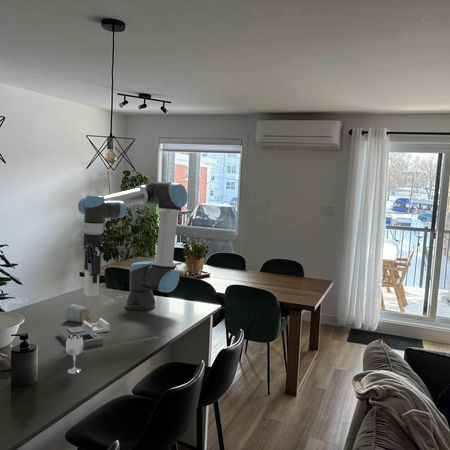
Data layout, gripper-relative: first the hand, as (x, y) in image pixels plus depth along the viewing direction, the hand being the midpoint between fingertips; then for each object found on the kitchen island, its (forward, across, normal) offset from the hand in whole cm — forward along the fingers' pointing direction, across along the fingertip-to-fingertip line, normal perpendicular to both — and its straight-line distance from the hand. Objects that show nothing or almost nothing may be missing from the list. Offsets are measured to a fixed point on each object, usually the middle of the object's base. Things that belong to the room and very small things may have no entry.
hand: (91, 289), depth 186 cm
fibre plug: (+2, 0, 0) cm, 2 cm away
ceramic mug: (+20, -21, +2) cm, 29 cm away
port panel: (+20, +4, -5) cm, 21 cm away
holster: (+19, -5, +4) cm, 21 cm away
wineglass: (+20, +30, -16) cm, 40 cm away
